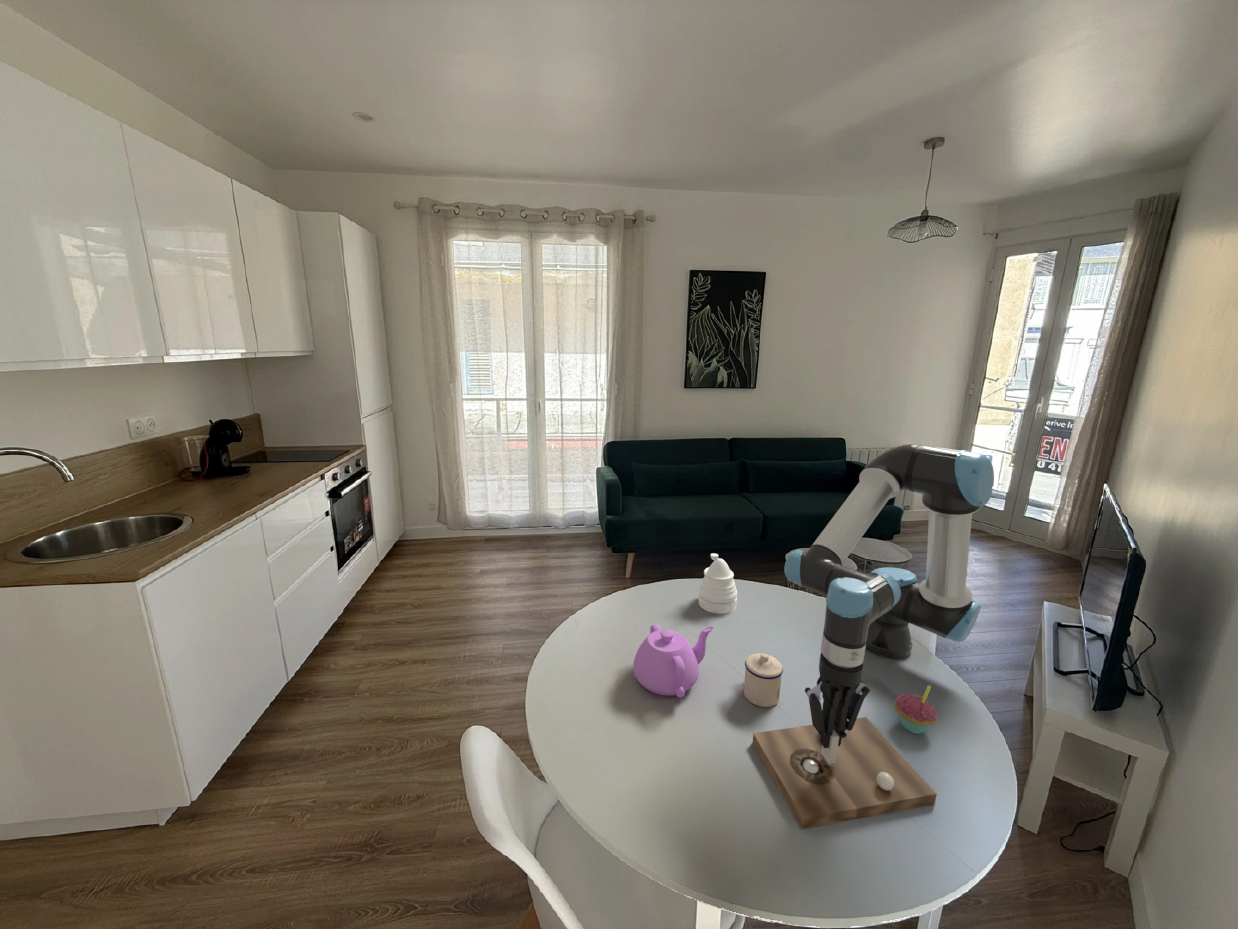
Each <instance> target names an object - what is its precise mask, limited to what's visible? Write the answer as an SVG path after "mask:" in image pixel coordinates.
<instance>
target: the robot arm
mask: <svg viewBox="0 0 1238 929" xmlns="http://www.w3.org/2000/svg"><path fill="white" fill-rule="evenodd" d="M858 479H859V481H858V483H857V485H856V486H855V487H854V489H853V490H851V492H850V494H849V495H848V497H847V498H846V500H845V501H844V502H843V503H842V505H841V506H840V507H839V509H838V510H837V511H836V512H835V514H834V515H833V517H832V518H831V520H829V522H828V523H827V524H826V526H825V527H824V529H823V530H822V531H821V532H820V534H819V535H818V536H817V538H816V539H815V541H814V542H813V543H812V545H811V546H810V547H809V548H808V550H807V551H805V550H800V549H795V550H794V551H792V552H790V553H789V555H787V559H786V561H785V563H784V574H785V577H786V579H787V580H788V581H789V582H792V583H794V584H795V585H797V586H799V587H801V588H803V589H807V590H809V591H812V592H814V593H817V594H820V595H821V596H824V597H826V598H825V600H826V601H825V603H826V607H825V617H824V625H823V626H824V627H823V632H822V636H821V637H822V639H821V647H820V655H819V664H818V670H819V677H818V679H817V681H816V685H815V686H814V687H812V688H810V687H805V688H804V693H805V694H806V696H807V698H808V704H809V708H810V709H809V710H810V716H811V722H812V723H811V725H813V726H814V727H815V729H816V730H817V731H818V733H819V734H820V735H821V737H820V743H821V744H822V751H821V754H822V755H823V756H824V758H825V759H826V761H827V762H828V763H829V764H832V763H836V756H837V749H838V746H840V744H841V739H842V738H845V737H846V736H847V734H846V733H845V732H844V731H845V730H848V731H851V730H852V729H853V726H854V724H855V721H856V719H857V718H858V716H859V713H860V711H861V709H862V706H863V702H864V700H865V699H866V697H867V696H868V695H869V693H870V692H871V690H870V689H869V687H868V686H867V685H866V684H865V683H864V682H862V675H863V668H864V664H863V663H864V660H865V654H866V651H867V652H869V653H871V654H873V655H877V656H878V657H883V658H886V659H887V658H888V659H905V658H907V657H908V656H910V655H911V653H912V649H913V642H912V636H911V633H910V632H911V631H910V627H909V624H911V625H913V626H916V627H918V628H920V629H923V630H925V631H928V632H930V633H932V634H934V635H936V636H939V637H942V638H943V639H946V640H951V641H954V642H958V643H963V642H964V641H966V640H967V638H968V637H969V635H970V634H971V631H973V630H972V629H973V628H974V626H975V624H976V621H977V620H978V616H979V615H980V612H981V604H980V602H977V601H976V600H973V592H972V591H971V589H970V588H969V587H968V586H967V576H968V565H969V564H968V563H969V555H970V554H969V552H970V540H971V531H972V530H971V529H972V520H973V519H972V518H973V514H975V513H977V512H978V511H979V510H980V509H981V507H983V506H986V505H987V504H988V502H990V499H991V497H992V493H993V487H994V483H995V473H994V466H993V462H992V461H991V460H990V458H989V457H988V456H986V454H985V455H984V454H983V453H976V452H972V451H969V450H967V449H964V450H963V449H962V450H959V449H952V448H947V447H946V448H945V447H940V446H939V447H938V446H930V445H925V444H920V443H919V444H918V443H917V444H916V443H910V444H901V445H898V446H895V447H892V448H890V449H888V450H886V451H884V452H882V453H881V454H879V455H877V456H876V457H875V458H874V459H872V460H871V461H870V462H868V464H866V465H865V467H864V468H863V469H862V470H861V472H860V474H859V477H858ZM902 491H909V492H911V493H912V492H913V493H916V494H921V496H922V498H921V501H922V505H923V506H924V507H925V508H926V509H927V510H928V528H927V547H926V549H927V550H926V552H927V554H926V569H925V570H926V573H925V579H924V580H922V581H921V582H918V581H917V580H918V578H917V576H916V574H915V573H913V572H912V571H910V570H907V569H904V568H899V567H888V566H887V567H879V568H876V569H874V570H872V571H871V572H868V573H864V572H862V571H859V570H856V569H853V568H850V567H848V566H846V565H845V566H844V565H843V564H845V562H846V560H847V559H848V557H849V556H850V554H851V553H852V552H853V550H854V548H856V546H857V545H858V543H859V542H860V540H861V539H862V538H863V536H864V535H865V534H866V532H867V530H868V529H869V528H870V526H871V525H872V524H873V522H874V521H875V519H876V518H877V517H878V516H879V514H880V512H881V511H882V510H883V508H884V507H885V505H887V503H888V501H889V500H890V499H893V498H896V497H897V496H898V495H899V494H900V492H902ZM821 696H822V698H821ZM821 700H823V701H822V703H821ZM847 720H848V721H847Z"/></svg>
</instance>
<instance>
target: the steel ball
mask: <svg viewBox="0 0 1238 929" xmlns="http://www.w3.org/2000/svg"><path fill="white" fill-rule="evenodd" d="M801 767H802V768H803V770H805V771H806V772H807V773H809V774H812V775H815V776H816V775H820V769H819V766H818V764H817V763H816V762H815V761H813V760H811V759H807V760H805V761H803V763H802V765H801Z"/></svg>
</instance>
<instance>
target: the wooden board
mask: <svg viewBox="0 0 1238 929" xmlns="http://www.w3.org/2000/svg"><path fill="white" fill-rule="evenodd" d="M847 721H848V719H847ZM844 732H845V733H846V734H847V736H846V737H845V738H842V739H841V744H840V746H838V749H837V756H836V763H832V764H829V763H828V762H827V761H826V759H825V758H824V756H823V755H822V754H821V751H822V744H821V743H820V737H821V735H820V734H819V733H818V731H817V730H816V729H815V727H814V726H813V724H809V725H801V726H794V727H789V728H788V727H787V728H781V729H775V730H767V731H766V730H765V731H759V732H753V735H752V744H753V746H754V748H755V750H756V752H757V753H758V755H759V757H760V758H761V761H762V762H763V764H764V765H765V767H766V769H767V771H768V773H769V774H770V776H771V777H772V780H773V781H774V782H775V785H776V786H777V788H778V790H779V791H780V793H781V795H782V797H783V798H784V800H785V802H786V804H787V806H788V808H789V809H790V811H791V812H792V816H794V819H795V820H796V822H797V823H798V825H799V827H800V828H801V830H805V829H812V828H815V827H822V826H827V825H833V824H837V823H838V824H839V823H843V822H844V823H845V822H848V821H853V820H859V819H864V818H868V817H869V818H870V817H874V816H875V817H876V816H880V815H886V814H891V813H896V812H900V811H901V812H902V811H907V810H912V809H917V808H923V807H927V806H934V805H936V799H937V792H936V791H935V790H934V789H933V788H932V787H931V786H930V785H929V783H927V782H926V780H925V779H923V777H922V776H921V775H920V774H919V773H918V772H917V771H916V769H914V767H913V766H912V765H911V764H910V763H909V762H908V761H907V760H906V759H905V758H904V756H903V755H902V754H901V753H900V752H899V751H898V750H897V749H896V748H895V747H894V746H893V744H892V743H891V742H890V741H889V740H888V739H887V738H886V736H884V735H883V733H881V731H880V730H879V729H878V728H877V727H876V726H875V725H874V724H873V723H872V722H871V720H869V718H867V716H863V717H857V719H856V721H855V724H854V726H853V729H852V730H851V731H848V730H845V731H844ZM807 759H811V760H813V761H815V762H816V763H817V764H818V766H819V769H820V773H819V775H816V776H815V775H812V774H809V773H807V772H806V771H805V770H803V768H802V767H801V765H802V763H803V761H805V760H807ZM880 772H886V773H888V774H889V775H890V776H891V777H892V778H893V780H894V787H893V788H892V789H891V790H888V791H887V790H883V789H882V788H881V787H880V786H879V785H878V783H877V780H876V778H877V775H878V774H879V773H880Z"/></svg>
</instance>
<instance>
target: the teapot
mask: <svg viewBox="0 0 1238 929" xmlns="http://www.w3.org/2000/svg"><path fill="white" fill-rule="evenodd" d="M714 628H715V627H714V626H707V627H705V628H704V629H702V631H701V632H700V634H699V636H698V640H697V642H696V644H695V645H694V646H693V647H692V646H691V644H690V643H689V641H688V640H687V638H686V637H685V636H684V635H683V634H682V633H680V632H678V631H675V630H672V629H662V628H661V626H660V625H659V624H657V623H655V624H652V625H651V626H650V628H649V632H650V633H649V635H648V636H646V638H644V640H643V641H642V643H641V644H640V645H639V647H638V649H637V651H636V653H635V656H634V660H633V665H632V669H633V674H634V676H635V678H636V680H637V681H638V682H639V684H640V685H641V686H642V687H643V688H644V689H646V690H648V691H649V692H651V693H653V694H655V695H659V696H664V697H665V696H666V697H668V696H669V697H672V696H676V697H677V698H684V696H685V692H687V691H688V690H690V689H691V688H692V687H693V686H695V684H696V683H697V681H698V678H699V674H700V670H699V669H700V668H699V664H700V663H701V662H703V660H704V658H705V655H706V648H707V646H706V645H707V638H708V635H710V633H711V632H712V631H713V630H714Z"/></svg>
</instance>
